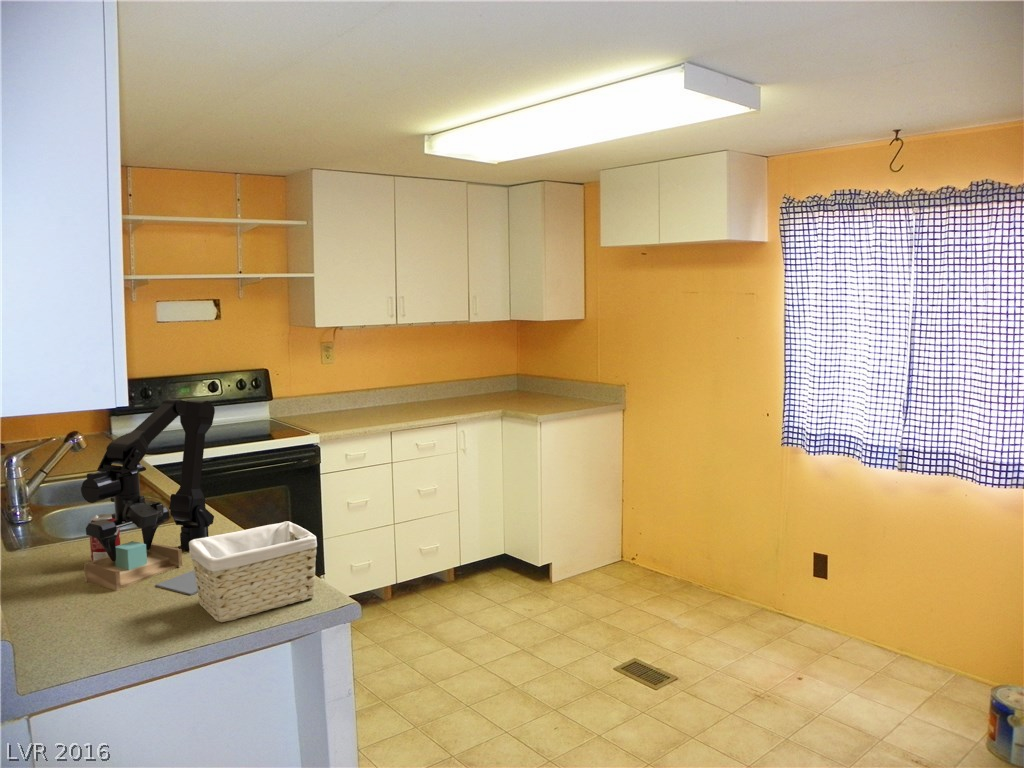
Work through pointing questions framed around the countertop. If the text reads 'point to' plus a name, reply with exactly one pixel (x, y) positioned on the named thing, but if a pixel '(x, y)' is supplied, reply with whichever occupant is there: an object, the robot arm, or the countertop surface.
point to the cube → (131, 555)
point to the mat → (181, 583)
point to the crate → (117, 578)
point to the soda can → (95, 545)
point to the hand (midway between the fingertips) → (131, 555)
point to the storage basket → (254, 569)
